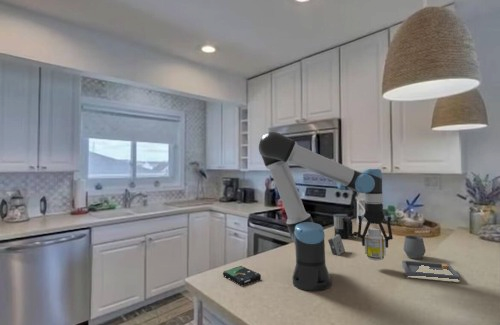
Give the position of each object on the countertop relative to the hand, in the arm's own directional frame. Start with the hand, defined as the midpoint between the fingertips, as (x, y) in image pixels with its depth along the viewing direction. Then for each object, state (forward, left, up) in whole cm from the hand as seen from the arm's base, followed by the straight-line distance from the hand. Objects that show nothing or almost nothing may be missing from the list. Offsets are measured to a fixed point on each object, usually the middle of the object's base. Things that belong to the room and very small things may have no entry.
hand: (375, 253), depth 126 cm
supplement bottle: (0, 0, -2) cm, 2 cm away
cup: (+18, +22, -7) cm, 30 cm away
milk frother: (-15, +58, -7) cm, 60 cm away
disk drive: (-54, -27, -8) cm, 61 cm away
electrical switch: (-19, +20, -7) cm, 28 cm away
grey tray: (+20, 0, -7) cm, 21 cm away
